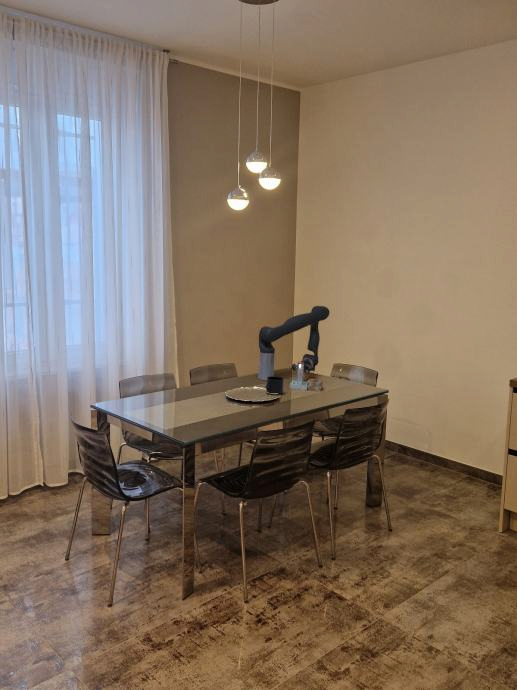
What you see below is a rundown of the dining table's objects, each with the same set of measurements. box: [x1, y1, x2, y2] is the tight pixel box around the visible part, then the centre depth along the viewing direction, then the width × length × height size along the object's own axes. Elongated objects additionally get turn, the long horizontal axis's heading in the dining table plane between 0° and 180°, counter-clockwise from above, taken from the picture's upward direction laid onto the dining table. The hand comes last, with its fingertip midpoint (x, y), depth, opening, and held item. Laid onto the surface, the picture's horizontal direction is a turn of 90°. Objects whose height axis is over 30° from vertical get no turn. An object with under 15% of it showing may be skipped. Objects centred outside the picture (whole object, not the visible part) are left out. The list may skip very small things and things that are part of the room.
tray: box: [289, 380, 308, 391], centre depth 375 cm, size 10×10×3 cm
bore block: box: [306, 378, 323, 391], centre depth 373 cm, size 8×8×5 cm
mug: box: [265, 375, 284, 395], centre depth 358 cm, size 9×12×9 cm
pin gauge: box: [296, 361, 305, 385], centre depth 374 cm, size 4×4×15 cm
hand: (301, 369), depth 377 cm, fingers open, 8 cm apart
